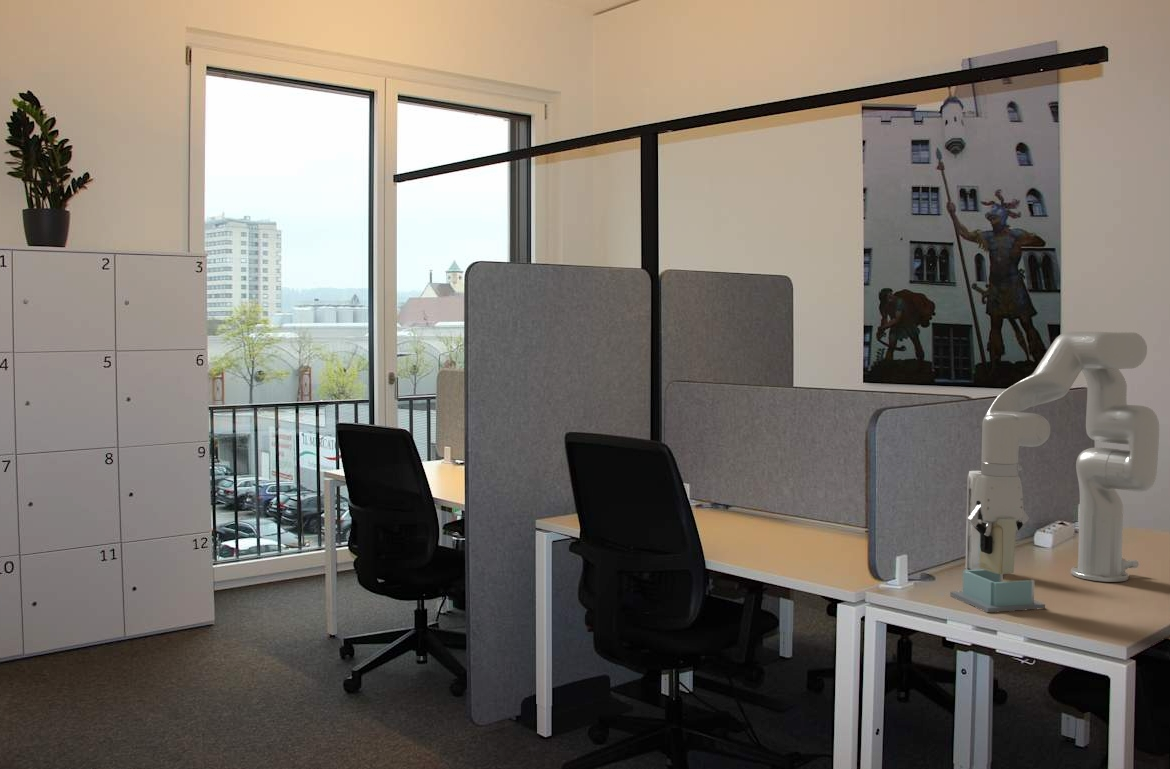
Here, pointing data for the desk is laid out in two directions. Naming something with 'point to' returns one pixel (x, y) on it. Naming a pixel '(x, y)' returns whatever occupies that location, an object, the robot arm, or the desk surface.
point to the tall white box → (972, 527)
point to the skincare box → (1000, 548)
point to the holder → (996, 592)
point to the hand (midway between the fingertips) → (997, 551)
